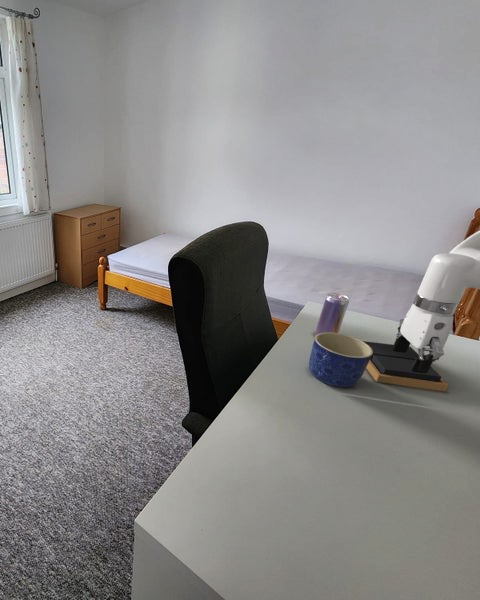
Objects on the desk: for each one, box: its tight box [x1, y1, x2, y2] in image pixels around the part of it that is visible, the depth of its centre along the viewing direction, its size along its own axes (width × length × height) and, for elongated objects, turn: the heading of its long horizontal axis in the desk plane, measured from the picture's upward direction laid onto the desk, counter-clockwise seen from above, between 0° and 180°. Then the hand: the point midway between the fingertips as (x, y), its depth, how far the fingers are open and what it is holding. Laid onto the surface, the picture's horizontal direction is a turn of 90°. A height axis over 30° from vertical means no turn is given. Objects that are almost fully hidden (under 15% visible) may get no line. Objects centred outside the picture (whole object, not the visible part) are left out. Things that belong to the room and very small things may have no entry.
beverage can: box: [314, 293, 350, 336], centre depth 109 cm, size 6×6×15 cm
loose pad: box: [371, 355, 442, 382], centre depth 92 cm, size 12×7×4 cm, turn 73°
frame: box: [366, 360, 449, 392], centre depth 96 cm, size 15×17×2 cm
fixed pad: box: [362, 340, 419, 361], centre depth 99 cm, size 12×7×4 cm, turn 73°
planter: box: [308, 332, 373, 388], centre depth 91 cm, size 12×12×11 cm
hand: (408, 361), depth 91 cm, fingers open, 9 cm apart
